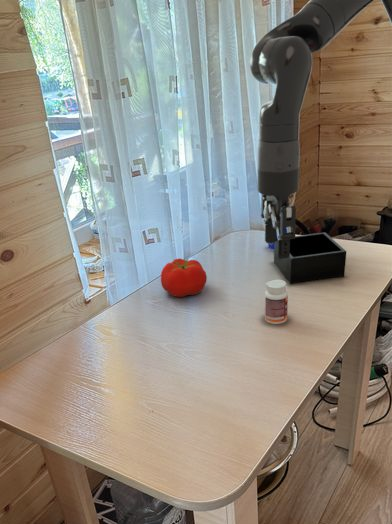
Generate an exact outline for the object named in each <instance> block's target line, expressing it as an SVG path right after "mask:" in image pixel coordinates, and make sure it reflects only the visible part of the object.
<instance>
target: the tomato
mask: <svg viewBox="0 0 392 524" xmlns="http://www.w3.org/2000/svg"><path fill="white" fill-rule="evenodd" d="M207 278H208V277H207V272H206V271H205V270H204V268H203V265H202V264H201V263H200V261H199V260H196V259H190V260H189V258H188V259H183V258H174V259H173V260H171V262H167V263H166V264H165V265H164V267H163V268H162V270H161V273H160V284H161V287H162V288H163V290H164V291H166V292H167V293H168V294H170V295H171V296H173V297H177V298H185V297H186V296H193V295H198V294H199V293H200V292H201V291H202V290H204V288H205V286H206V284H207Z"/></svg>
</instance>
